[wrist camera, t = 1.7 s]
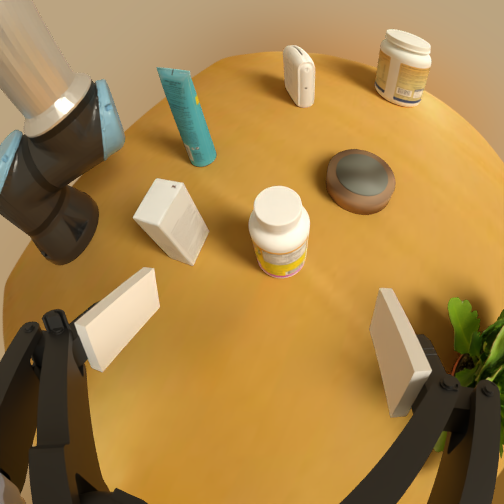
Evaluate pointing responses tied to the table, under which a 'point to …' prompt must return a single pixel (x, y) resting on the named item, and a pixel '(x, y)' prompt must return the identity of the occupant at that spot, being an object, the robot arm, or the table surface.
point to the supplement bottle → (279, 231)
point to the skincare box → (172, 220)
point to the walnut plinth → (360, 181)
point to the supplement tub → (402, 68)
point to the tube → (188, 115)
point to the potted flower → (476, 354)
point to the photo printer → (299, 75)
